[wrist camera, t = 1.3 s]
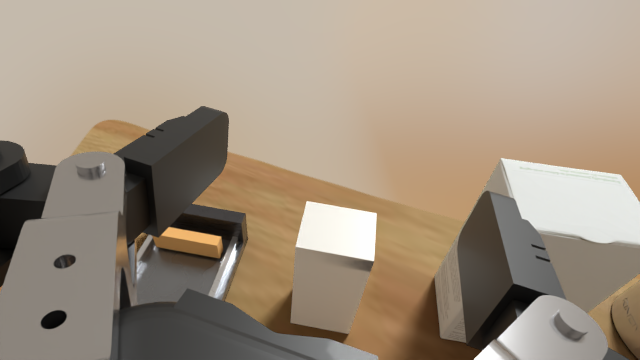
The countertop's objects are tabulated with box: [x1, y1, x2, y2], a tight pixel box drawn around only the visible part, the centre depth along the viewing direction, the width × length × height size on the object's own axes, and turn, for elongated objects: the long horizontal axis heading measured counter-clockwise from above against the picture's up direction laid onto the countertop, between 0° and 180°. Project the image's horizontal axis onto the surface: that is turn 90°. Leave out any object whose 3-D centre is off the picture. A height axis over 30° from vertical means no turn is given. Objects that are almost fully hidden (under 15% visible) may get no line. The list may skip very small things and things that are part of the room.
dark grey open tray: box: [137, 204, 248, 305], centre depth 29 cm, size 9×15×4 cm, turn 171°
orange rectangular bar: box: [152, 227, 223, 259], centre depth 32 cm, size 6×1×2 cm, turn 81°
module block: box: [290, 201, 377, 334], centre depth 28 cm, size 5×4×11 cm
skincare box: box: [434, 158, 640, 343], centre depth 27 cm, size 8×7×16 cm
